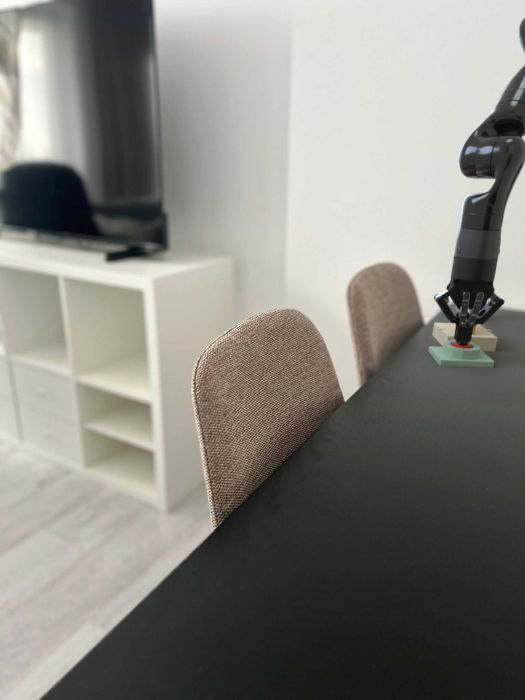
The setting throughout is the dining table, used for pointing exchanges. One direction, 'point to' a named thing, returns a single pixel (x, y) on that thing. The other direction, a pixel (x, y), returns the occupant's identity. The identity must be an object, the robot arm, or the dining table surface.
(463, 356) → the button box
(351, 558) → the dining table surface
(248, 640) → the dining table surface
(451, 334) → the panel
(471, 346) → the button
